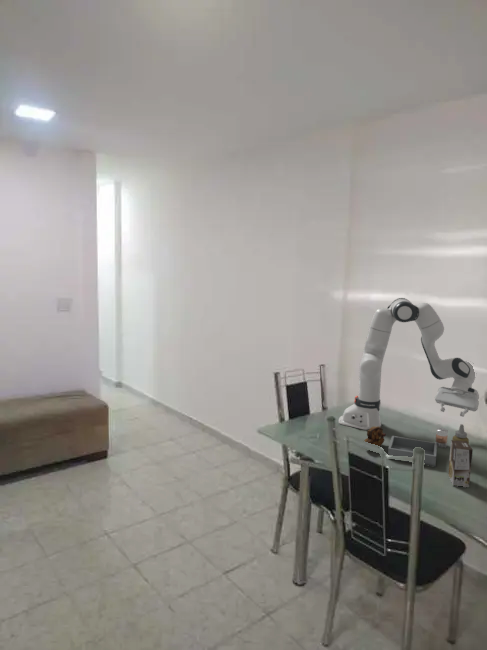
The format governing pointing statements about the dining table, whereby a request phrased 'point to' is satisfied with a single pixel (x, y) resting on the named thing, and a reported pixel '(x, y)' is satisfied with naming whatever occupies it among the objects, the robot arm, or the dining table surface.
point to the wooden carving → (375, 436)
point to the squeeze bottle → (460, 435)
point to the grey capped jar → (441, 437)
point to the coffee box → (460, 463)
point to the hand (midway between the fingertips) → (451, 413)
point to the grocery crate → (406, 446)
